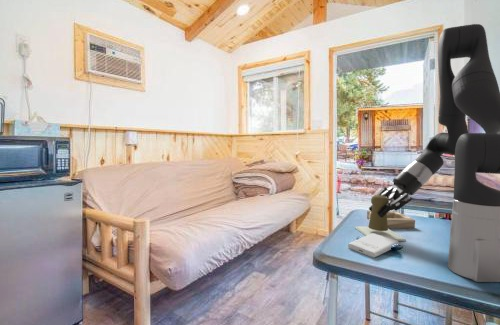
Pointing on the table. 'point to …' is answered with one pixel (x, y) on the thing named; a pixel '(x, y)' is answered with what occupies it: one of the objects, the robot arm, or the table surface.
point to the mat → (380, 233)
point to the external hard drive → (372, 245)
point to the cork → (375, 219)
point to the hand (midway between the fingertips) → (374, 213)
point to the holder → (397, 220)
